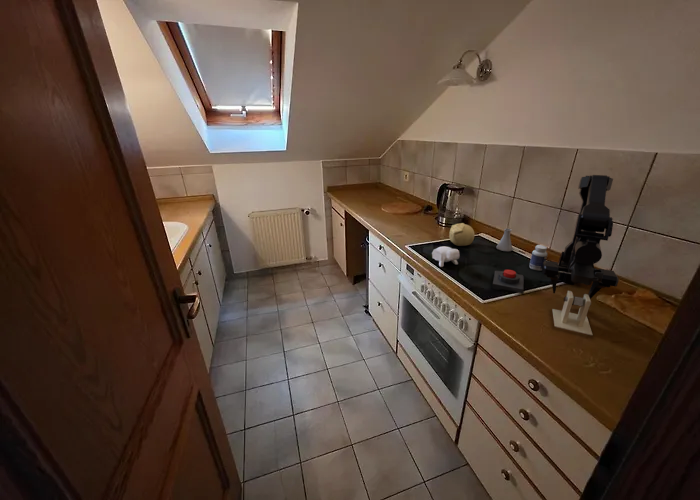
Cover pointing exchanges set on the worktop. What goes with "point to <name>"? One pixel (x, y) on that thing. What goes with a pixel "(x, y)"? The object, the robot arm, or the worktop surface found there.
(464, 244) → the sculpture
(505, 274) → the button
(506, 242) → the flask
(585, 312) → the beige u-shaped holder
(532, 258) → the pill bottle
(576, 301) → the lever
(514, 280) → the button housing
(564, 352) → the worktop surface
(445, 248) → the white animal figurine
